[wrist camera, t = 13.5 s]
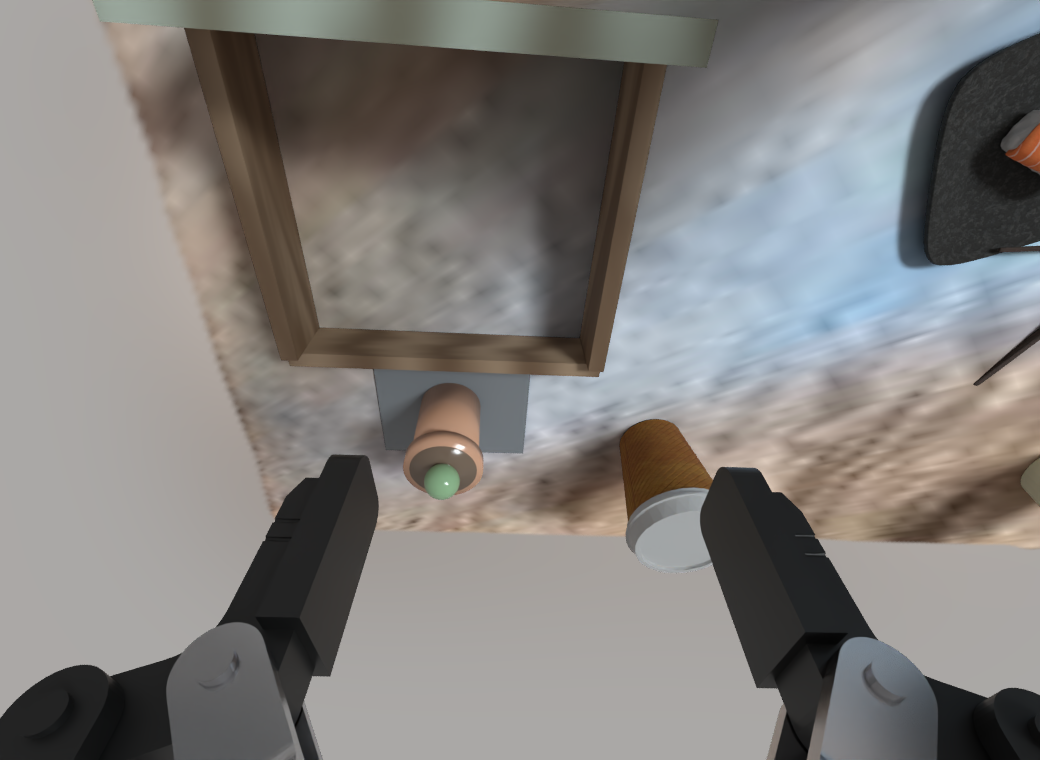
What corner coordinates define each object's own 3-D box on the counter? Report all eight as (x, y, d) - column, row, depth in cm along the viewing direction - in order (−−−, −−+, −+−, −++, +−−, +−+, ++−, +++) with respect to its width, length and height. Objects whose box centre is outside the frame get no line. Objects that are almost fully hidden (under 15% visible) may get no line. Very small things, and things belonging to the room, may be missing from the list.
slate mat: (531, 354, 41) (531, 356, 41) (522, 451, 48) (522, 453, 48) (371, 348, 40) (370, 350, 40) (386, 447, 47) (385, 449, 47)
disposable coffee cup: (713, 443, 48) (766, 544, 38) (636, 485, 51) (667, 588, 41) (665, 389, 43) (712, 489, 34) (585, 440, 47) (606, 543, 37)
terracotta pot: (484, 379, 42) (482, 466, 33) (484, 431, 46) (482, 521, 37) (413, 379, 41) (392, 466, 33) (419, 431, 45) (402, 521, 37)
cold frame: (649, 28, 27) (718, 19, 18) (591, 350, 40) (615, 434, 32) (223, -7, 26) (79, -34, 17) (307, 339, 39) (251, 424, 30)
